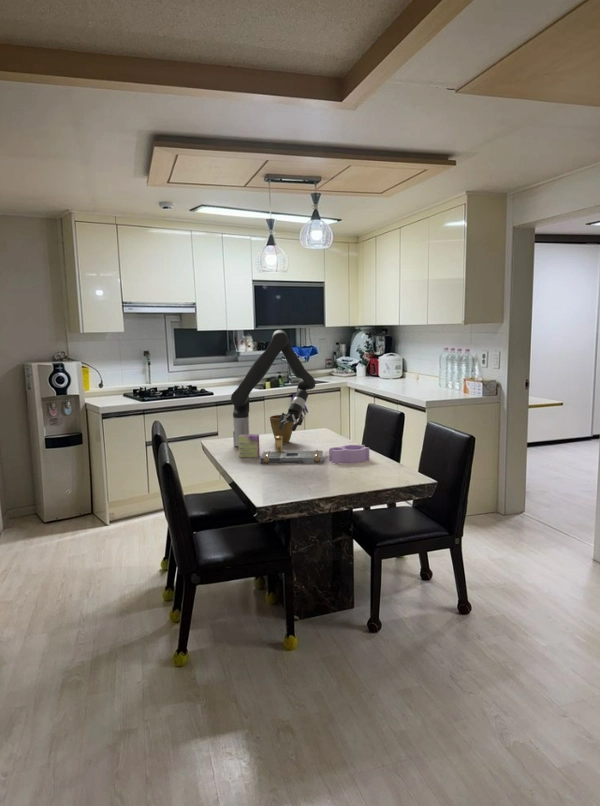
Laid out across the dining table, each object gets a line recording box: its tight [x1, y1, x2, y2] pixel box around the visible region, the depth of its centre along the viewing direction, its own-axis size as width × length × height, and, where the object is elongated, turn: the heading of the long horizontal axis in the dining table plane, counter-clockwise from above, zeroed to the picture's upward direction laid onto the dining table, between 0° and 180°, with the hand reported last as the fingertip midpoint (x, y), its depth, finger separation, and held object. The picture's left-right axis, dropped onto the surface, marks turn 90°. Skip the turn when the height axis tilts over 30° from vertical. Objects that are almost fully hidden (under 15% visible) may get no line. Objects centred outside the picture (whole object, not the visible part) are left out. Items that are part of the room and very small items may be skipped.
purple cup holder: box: [328, 444, 370, 465], centre depth 268 cm, size 20×12×7 cm, turn 105°
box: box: [238, 433, 261, 458], centre depth 282 cm, size 10×6×12 cm, turn 84°
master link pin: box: [273, 435, 284, 451], centre depth 284 cm, size 5×5×10 cm
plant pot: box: [269, 414, 295, 444], centre depth 311 cm, size 15×15×16 cm
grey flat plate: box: [260, 449, 324, 465], centre depth 272 cm, size 32×15×3 cm, turn 88°
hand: (286, 429), depth 289 cm, fingers open, 8 cm apart
